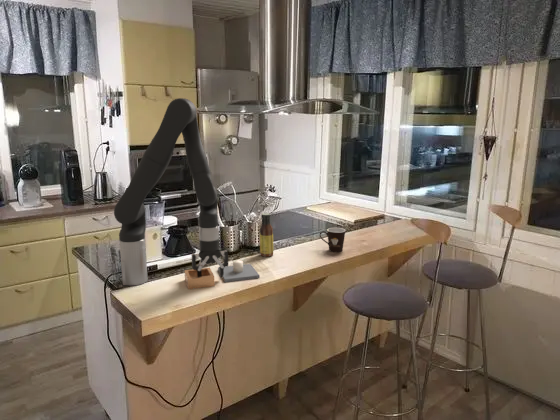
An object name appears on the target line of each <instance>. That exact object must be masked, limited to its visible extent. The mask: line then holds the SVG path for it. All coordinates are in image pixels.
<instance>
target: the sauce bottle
mask: <svg viewBox="0 0 560 420" xmlns="http://www.w3.org/2000/svg"><path fill="white" fill-rule="evenodd" d="M260 215H261V225H260V229H259V252H260V255H261V256H262V257H265V258H269V257H272V256H273V255H274V252H275V251H274V228H273V226H272V224H271V213H269V212H263V213H261V214H260Z"/></svg>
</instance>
